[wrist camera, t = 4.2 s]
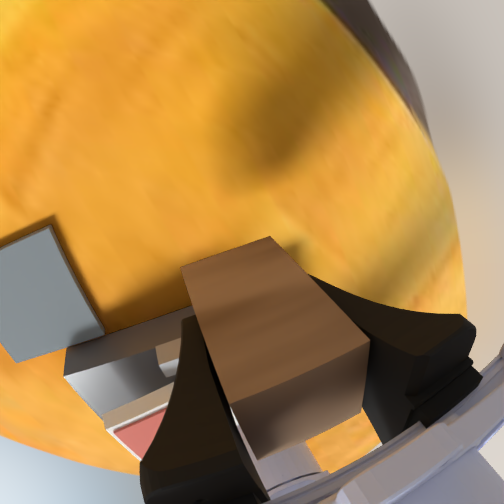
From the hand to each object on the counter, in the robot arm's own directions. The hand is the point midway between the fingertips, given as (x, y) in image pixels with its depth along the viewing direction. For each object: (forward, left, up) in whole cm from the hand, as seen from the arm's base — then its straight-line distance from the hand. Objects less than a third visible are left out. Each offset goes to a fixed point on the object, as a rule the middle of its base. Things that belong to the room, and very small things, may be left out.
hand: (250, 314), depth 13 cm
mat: (0, +12, -8) cm, 15 cm away
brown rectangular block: (0, 0, -2) cm, 2 cm away
